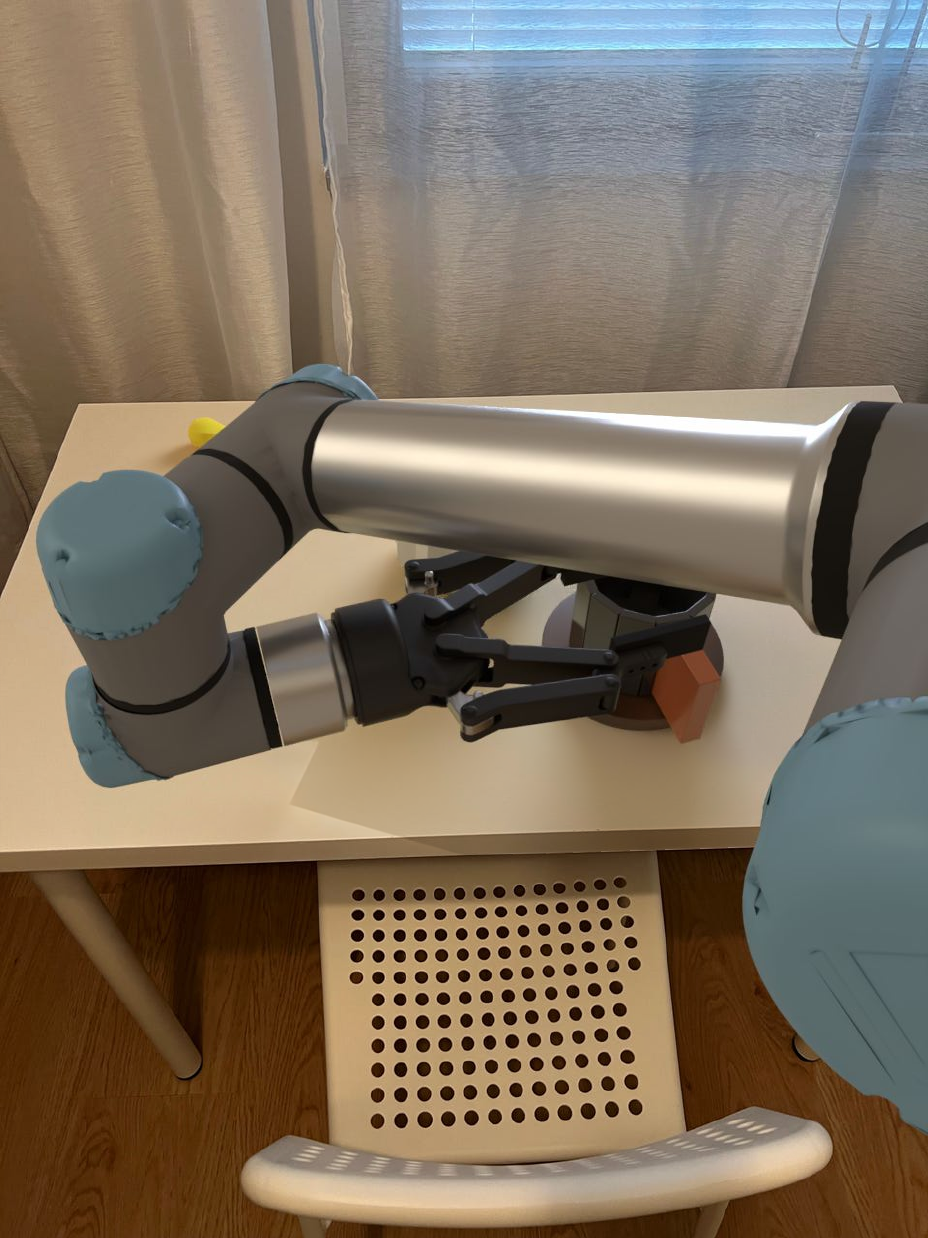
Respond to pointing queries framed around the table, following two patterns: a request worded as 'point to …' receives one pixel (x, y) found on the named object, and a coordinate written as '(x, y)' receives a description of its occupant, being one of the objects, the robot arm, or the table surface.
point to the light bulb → (203, 430)
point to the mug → (640, 606)
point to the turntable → (629, 708)
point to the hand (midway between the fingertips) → (676, 589)
